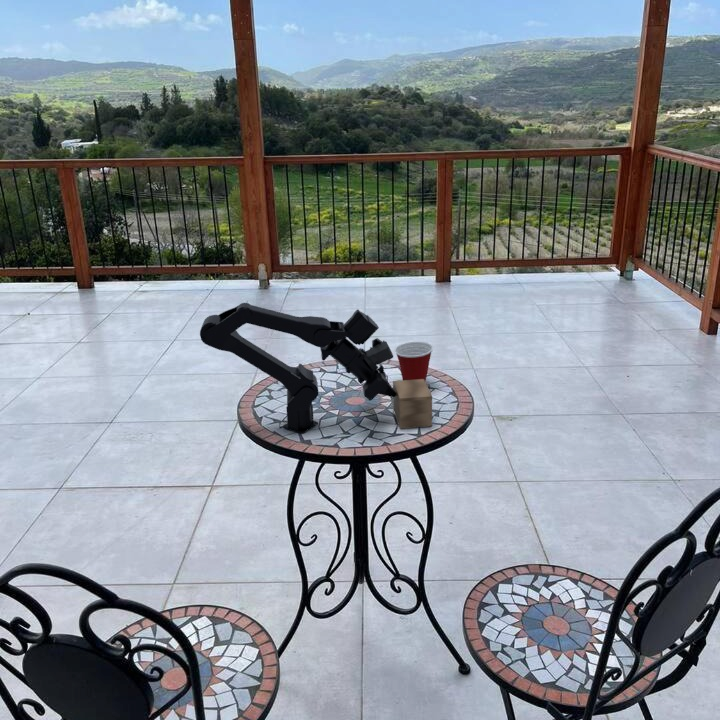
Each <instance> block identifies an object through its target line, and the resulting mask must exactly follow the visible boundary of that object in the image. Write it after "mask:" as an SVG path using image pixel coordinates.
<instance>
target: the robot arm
mask: <svg viewBox="0 0 720 720" xmlns="http://www.w3.org/2000/svg"><path fill="white" fill-rule="evenodd" d="M202 322H203V323H202V325H201V328H200V331H199V337H200V340H201V341H202V343H204V345H207V346H208V347H211V348H213V349H216V350H219V351H224V352H229V353H232V354H233V355H236V356H237V357H239V358H240V359H241V360H243V361H245V362H247V363H248V364H250V365H252V366H253V367H255V368H257V369H258V370H260V371H261V372H263V373H265V374H266V375H267V376H270V377H272V378H273V379H275V380H276V381H277V382H279V383H280V384H282V385H283V386H284V388H285V389H286V390H287V391H286V407H285V408H286V419H287V423H285V424H284V425H282V427H283V429H286V430H289V431H292V432H296V433H299V434H305V433H306V432H308V431H310V430H311V429H313V428H315V427H317V425H319V421H316V420H314V409H313V408H314V405H313V401H315V400H316V399H317V397H319V386H318V385H319V384H318V379H317V377H316V375H315V374H314V371H313V369H312V370H311V369H309V368H306V367H305V366H304V365H303V364H302V363H298V366H297V367H295V366H290V365H288V364H286V363H284V362H283V361H282V360H280V359H279V358H277V357H275V356H274V355H272V354H270V353H269V352H267V351H266V350H264V349H262V348H261V347H259V346H257V345H256V344H254V343H252V342H251V341H250V340H247V339H246V338H245V337H243V336H242V335H240V333H239V332H238V331H237V330H238V329H239V328H240V327H243V326H244V325H246V324H248V325H253V326H257V327H262V328H265V329H268V330H269V329H270V330H273V331H276V332H281V333H285V334H289V335H292V336H295V337H297V338H299V339H301V341H303V342H306V343H308V344H310V345H312V346H314V347H317V348H319V349H320V354H321V355H320V356H321V360H322V361H325V360H326V359H327V358H328V357H329V356H330V357H332V359H333V360H335V361H336V362H337V363H338V364H339V365H341V366H342V367H343V368H344V369H345V372H346V373H347V374H351V375H353V376H354V377H355V378H356V379H357V381H358V383H359V384H360V385H362V393H363V396H364V397H365V398H366V399H367V400H368V401H372V400H374V399H375V398H376V396H378V395H383V396H387V397H389V398H393V397H395V396H396V395H397V394H396V392H395V391H394V389H393V386H392V385H391V384H390V382H389V381H388V379H387V374H386V372H385V370H384V367H383V365H380V364H382V363H384V362H386V361H390V360H392V359H393V358H394V354H393V352H392V349H391V348H390V346H389V344H388V342H387V340H386V341H385V340H380V338H378V337H376V338H374V339H372V340H371V346H370V347H369V349H366V350H365V349H363V348H361V347H359V348H358V347H357V346H356V345H358V346H360V345H364V344H365V343H366V342H367V341H368V340H369V339H370V337H372V336H373V335H374V334H375V333H376V331H378V330H379V328H380V327H379V326H378V324H377V323H376V321H374V320H373V319H372V318H371V317H370V316H369V315H368V314H366V313H364V312H363V311H361V310H359V309H356V310H355V311H354V312H353V314H352V315H351V316H350V318H349V319H348V320H347V321H346V322H345V323H344V322H343V321H334V320H329V319H327V318H326V317H323V316H322V317H321V316H313V315H312V316H307V315H306V316H296V315H292V314H289V313H288V314H287V313H284V312H279V311H276V310H272V309H268V308H264V307H260V306H257V305H252V304H250V303H248V302H242V303H240V304H238V305H237V306H235V307H233V308H230V309H227V310H225V311H223V312H221V313H219V314H210V315H209V316H207V317H206V318H205V319H204V320H203V321H202ZM378 365H380V366H378ZM363 383H364V384H363Z"/></svg>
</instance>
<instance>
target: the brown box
mask: <svg viewBox="0 0 720 720" xmlns="http://www.w3.org/2000/svg"><path fill="white" fill-rule="evenodd" d="M392 388H393V389H394V391H395V392H396V394H397V395H396V396H395V397H392V400H393V401H392V403H393V405H392V408H393V409H392V410H393V413H394V415H395V418H396V422H397V424H398V427H399V429H408V428H409V429H410V428H421V427H423V428H424V427H432V426H433V395H432V393H431V391H430V389H429V387H428V384H427V383H426V382H425V381H424V379H417V380H403V379H402V380H393V381H392Z"/></svg>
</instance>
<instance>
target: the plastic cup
mask: <svg viewBox="0 0 720 720" xmlns="http://www.w3.org/2000/svg"><path fill="white" fill-rule="evenodd" d="M433 349H434V346H433V344H431V343H429V342H425V341H407V342H404V343H401V344H398V345H397V346H395V348H394V350H393V352H394V353H395V354H396V357H397V359H398V364H399V369H400V373H401V377H402V380H417V379H424V381H425V383H426V381H427V377H428V371H429V365H430V359H431V356H432V352H433Z"/></svg>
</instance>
